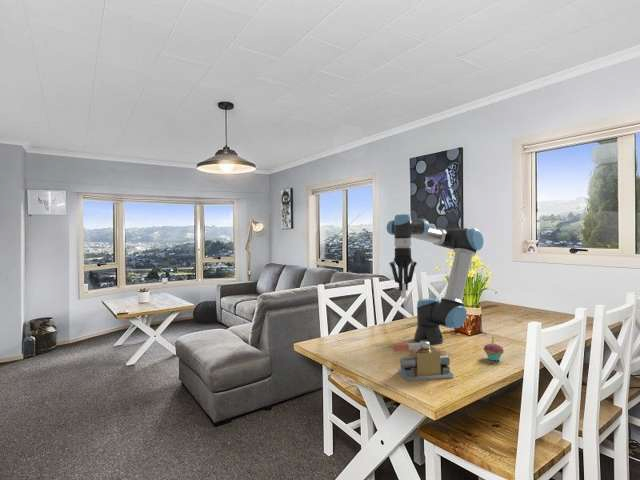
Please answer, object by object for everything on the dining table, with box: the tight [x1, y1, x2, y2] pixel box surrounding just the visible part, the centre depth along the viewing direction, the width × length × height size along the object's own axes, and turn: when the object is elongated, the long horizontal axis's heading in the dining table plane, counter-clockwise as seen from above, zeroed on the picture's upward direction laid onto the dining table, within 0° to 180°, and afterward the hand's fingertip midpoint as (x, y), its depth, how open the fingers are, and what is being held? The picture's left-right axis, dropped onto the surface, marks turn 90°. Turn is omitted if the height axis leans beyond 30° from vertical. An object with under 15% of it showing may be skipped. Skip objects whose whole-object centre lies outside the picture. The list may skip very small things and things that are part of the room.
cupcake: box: [483, 335, 505, 362], centre depth 169 cm, size 9×8×12 cm
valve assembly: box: [397, 345, 454, 382], centre depth 152 cm, size 20×10×11 cm, turn 98°
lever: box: [392, 341, 431, 352], centre depth 151 cm, size 16×4×3 cm, turn 98°
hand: (403, 297), depth 170 cm, fingers closed
